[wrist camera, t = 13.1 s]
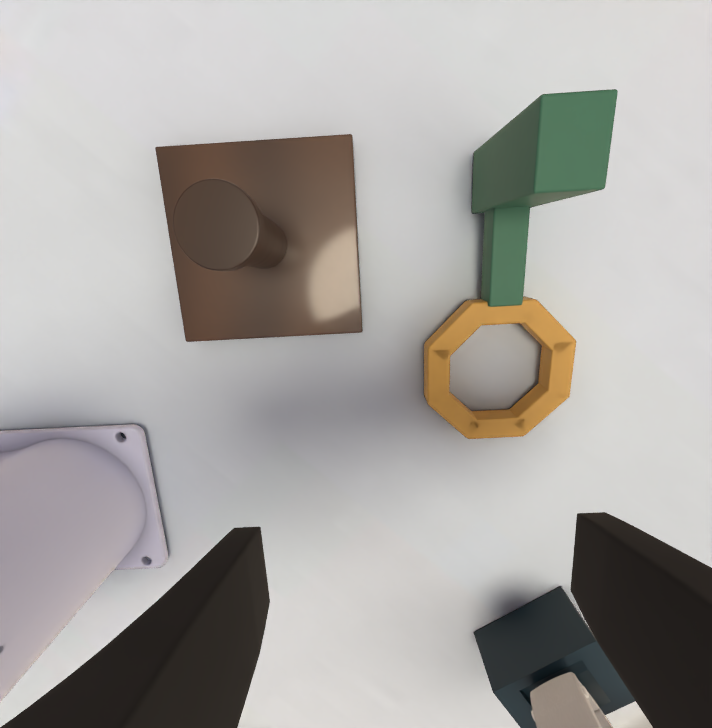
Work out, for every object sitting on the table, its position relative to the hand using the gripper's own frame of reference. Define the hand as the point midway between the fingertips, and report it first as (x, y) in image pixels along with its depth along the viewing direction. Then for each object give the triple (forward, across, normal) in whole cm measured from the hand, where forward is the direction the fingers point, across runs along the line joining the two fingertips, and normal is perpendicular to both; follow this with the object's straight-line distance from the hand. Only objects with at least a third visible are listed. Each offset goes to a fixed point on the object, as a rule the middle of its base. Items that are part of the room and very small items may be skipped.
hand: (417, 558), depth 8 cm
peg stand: (+10, +5, -8) cm, 14 cm away
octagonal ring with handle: (+10, -5, -5) cm, 12 cm away
